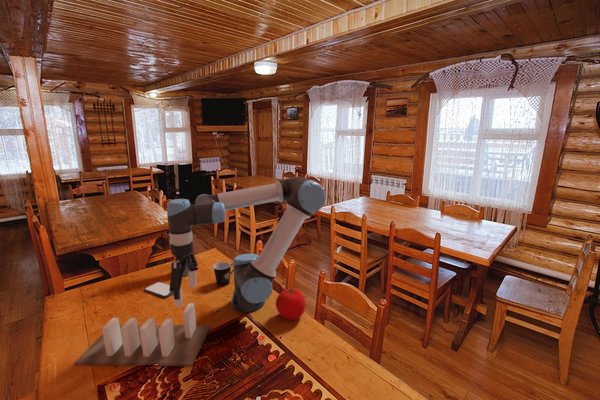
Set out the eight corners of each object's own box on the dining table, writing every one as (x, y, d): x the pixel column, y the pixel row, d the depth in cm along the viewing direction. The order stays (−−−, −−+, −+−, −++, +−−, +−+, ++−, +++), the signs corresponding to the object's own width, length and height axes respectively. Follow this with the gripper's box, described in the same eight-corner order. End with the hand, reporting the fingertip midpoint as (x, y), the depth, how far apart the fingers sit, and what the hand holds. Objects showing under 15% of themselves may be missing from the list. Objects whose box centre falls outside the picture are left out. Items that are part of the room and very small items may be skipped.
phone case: (143, 292, 149) (165, 299, 142) (143, 289, 149) (164, 296, 141) (159, 284, 157) (180, 291, 149) (158, 281, 156) (180, 288, 149)
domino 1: (122, 343, 111) (118, 317, 108) (112, 356, 105) (107, 328, 102) (117, 343, 111) (112, 317, 108) (106, 355, 105) (101, 328, 102)
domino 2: (140, 344, 111) (136, 317, 108) (130, 356, 105) (126, 328, 102) (134, 344, 111) (130, 317, 108) (125, 356, 105) (120, 328, 102)
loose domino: (196, 327, 119) (194, 303, 117) (190, 338, 114) (188, 312, 111) (191, 327, 119) (189, 303, 117) (185, 338, 114) (182, 312, 111)
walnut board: (210, 327, 121) (210, 325, 121) (191, 366, 102) (191, 363, 101) (112, 326, 122) (112, 324, 122) (75, 364, 102) (75, 362, 102)
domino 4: (175, 344, 110) (171, 318, 108) (167, 356, 104) (164, 329, 102) (169, 344, 110) (166, 318, 108) (162, 356, 105) (158, 329, 102)
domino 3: (157, 344, 110) (154, 318, 108) (149, 356, 105) (145, 329, 102) (152, 344, 110) (148, 318, 108) (143, 356, 105) (139, 328, 102)
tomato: (307, 310, 132) (307, 284, 129) (301, 327, 121) (301, 299, 118) (280, 307, 135) (280, 281, 132) (272, 323, 124) (271, 295, 121)
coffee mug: (216, 289, 150) (214, 270, 148) (213, 281, 158) (212, 263, 155) (239, 284, 154) (238, 266, 152) (235, 276, 162) (234, 259, 160)
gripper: (184, 230, 120) (189, 279, 125) (154, 256, 96) (160, 315, 101) (203, 230, 120) (207, 279, 125) (177, 256, 95) (183, 316, 100)
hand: (186, 295), depth 113 cm, fingers open, 13 cm apart
